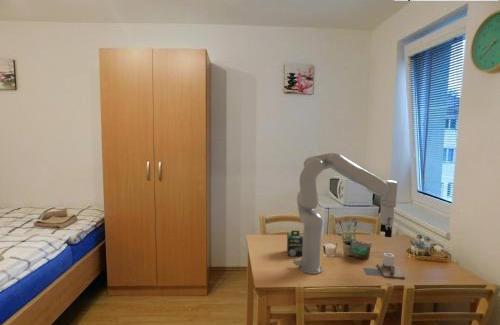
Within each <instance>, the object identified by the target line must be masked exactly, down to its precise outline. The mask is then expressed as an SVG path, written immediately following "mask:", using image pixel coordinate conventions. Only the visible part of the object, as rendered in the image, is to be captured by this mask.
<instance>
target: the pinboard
mask: <svg viewBox="0 0 500 325" xmlns="http://www.w3.org/2000/svg"><path fill="white" fill-rule="evenodd" d="M376 267H377V269H379V270H380V271H381V273H382V275H383V276H382V277H384V278H387V279H388V278H389V279H391V278H392V279H401V280H405V279H406V277H405V275H404V274H403V273H402V272H401V270H400V268H399V267H398V266H397V265H396V264H394V266H393V265H391V269H385V268H384V266H383V263H376Z"/></svg>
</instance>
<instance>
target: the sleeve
mask: <svg viewBox="0 0 500 325" xmlns="http://www.w3.org/2000/svg"><path fill="white" fill-rule="evenodd" d="M382 256H383V257H382V264H383V266H384V268H385V269H391V265H393V266H394V265H395V255H394V254H393V253H389V252H388V253H387V252H383V254H382Z"/></svg>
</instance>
